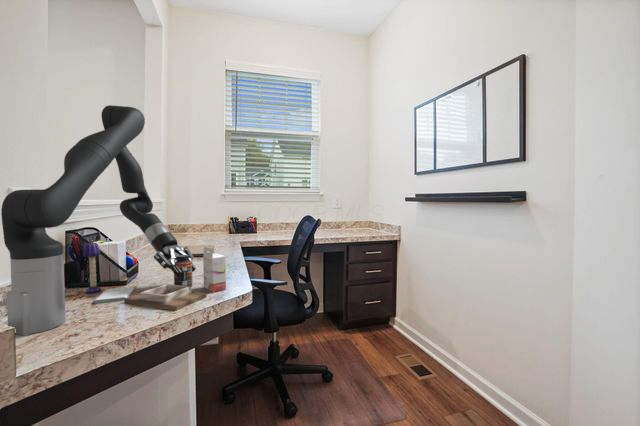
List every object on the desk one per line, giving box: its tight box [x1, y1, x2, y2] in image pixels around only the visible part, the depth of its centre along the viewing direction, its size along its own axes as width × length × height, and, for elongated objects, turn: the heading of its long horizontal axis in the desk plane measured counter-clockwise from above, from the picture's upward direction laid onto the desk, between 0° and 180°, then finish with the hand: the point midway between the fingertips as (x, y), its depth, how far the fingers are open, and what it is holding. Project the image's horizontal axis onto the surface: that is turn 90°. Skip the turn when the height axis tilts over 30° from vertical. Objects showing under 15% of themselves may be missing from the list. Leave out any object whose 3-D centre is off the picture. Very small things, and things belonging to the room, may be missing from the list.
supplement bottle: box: [173, 255, 193, 288], centre depth 104 cm, size 6×6×11 cm
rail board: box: [124, 283, 207, 311], centre depth 90 cm, size 12×20×3 cm, turn 71°
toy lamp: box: [82, 242, 102, 295], centre depth 98 cm, size 5×5×17 cm
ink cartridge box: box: [202, 246, 227, 293], centre depth 102 cm, size 9×5×15 cm, turn 43°
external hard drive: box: [93, 286, 135, 305], centre depth 94 cm, size 2×8×12 cm
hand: (187, 272), depth 104 cm, fingers closed on supplement bottle, 6 cm apart
